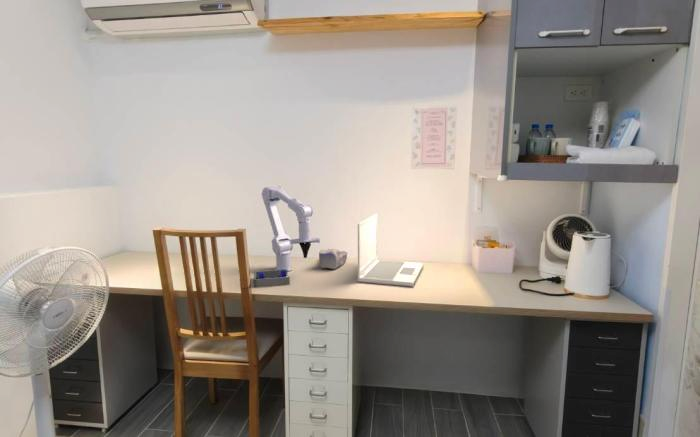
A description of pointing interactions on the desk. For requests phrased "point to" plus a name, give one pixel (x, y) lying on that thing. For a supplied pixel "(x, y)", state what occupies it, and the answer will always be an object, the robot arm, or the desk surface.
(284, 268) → the robot arm
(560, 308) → the desk surface
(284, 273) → the cable clip
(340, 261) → the grey rounded block
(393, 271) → the laptop
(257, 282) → the box
